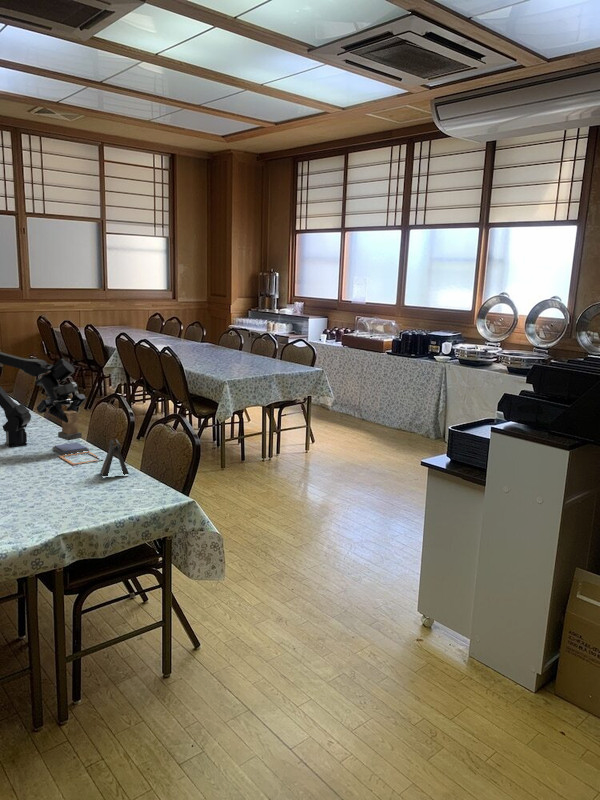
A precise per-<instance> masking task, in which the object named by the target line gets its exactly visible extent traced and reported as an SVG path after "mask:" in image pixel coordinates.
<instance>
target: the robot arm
mask: <svg viewBox="0 0 600 800" xmlns="http://www.w3.org/2000/svg"><path fill="white" fill-rule="evenodd" d="M0 364H2V365H5V366H8V367H12V368H15V369H18V370H21V371H22V372H23V373H25V374H27V375H30V376H32V377H37V378H36V381H35V383H34V384H35V385H36V386H40V387H41V386H42V388H43V389H44V390H45V392H46V393H45V397H46V398H44V399H43V398H42V399H41V401H40V402H39V403H38V404H37V405H36V411H37V412H38V414H44V413H46V412H47V414H48V415H49V414H51V415H52V416H54V417H56V418H57V419H59V420H61V422H62V421H64V422H66V423H68V419H67V417H66V415H65V413H64V412H63V411H64V410H63V406H66V407H67V409H65V411H70V410H72V411H76V412H78V408H79V407H80V406H81V405H83V403H84V402H85V401H86V399H87V397H86V396H85V394H84V393H77V394H73V396H72V397H71V394H72V393H76V391H78V390H79V387H78V384H77V382H75V381H71V382H70V383H68V384H62V385H61V384H60V381H62V382H64V381H65V380H67V378H69V377H70V376H71V375H72V374H74V373H75V371H76V370H75V367H74V366H73V364H71V363H70V362H69V361H67V360H66V359H64V358H61V359H59V360H57V362H56V363H55V364H54V365H53V364H50V363H47V361H46V360H44V359H37V358H24V357H21V356H17V355H14V354H13V355H12V354H9V353H6V352H2V351H0ZM46 373H47V374H46ZM38 376H41V377H38ZM70 397H71V398H70ZM0 408H2V410H3V411H4V417H5V419H6V420H7V421H6V422H5V423H4V424H3V425H2V429H3V432H5V442H4V445H6V446H8V447H9V448H13V447H21V446H27V445H28V443H27V442H28V441H27V440H28V439H27V436H28V435H27V432H26V428H27V427H28V425H29V423H30V422H31V420H32V414H31V413H30V412H31V410H29V409H28V408H27V407H26V406H25V404H24V403H20V404H17V403H16V402H15V401H14V400H13V399H12V398H11V397H10V396H9V395H8V393H7V392H6V391H5V390H4V388H2V386H0ZM47 410H48V411H47Z"/></svg>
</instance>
